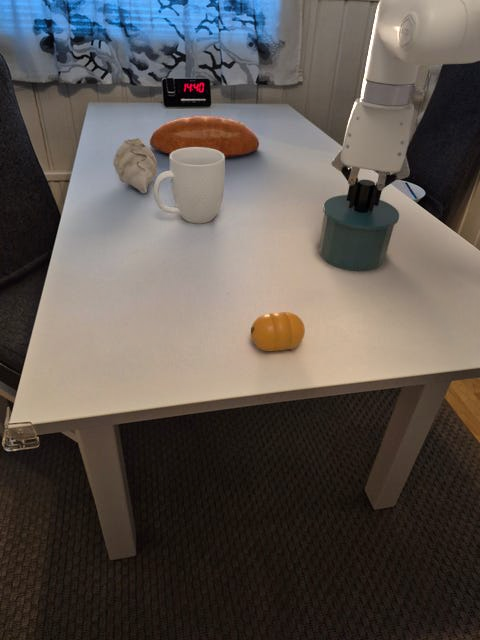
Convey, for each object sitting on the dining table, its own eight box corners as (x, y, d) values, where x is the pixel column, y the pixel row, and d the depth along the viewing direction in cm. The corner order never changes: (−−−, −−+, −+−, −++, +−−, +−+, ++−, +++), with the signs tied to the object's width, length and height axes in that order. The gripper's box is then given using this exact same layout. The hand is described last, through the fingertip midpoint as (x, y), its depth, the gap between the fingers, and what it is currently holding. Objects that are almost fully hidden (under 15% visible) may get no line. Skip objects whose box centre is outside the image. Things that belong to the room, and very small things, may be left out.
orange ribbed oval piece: (295, 331, 66) (300, 303, 63) (307, 354, 62) (312, 325, 59) (245, 336, 65) (247, 308, 62) (254, 361, 61) (256, 331, 58)
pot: (387, 245, 88) (398, 205, 83) (380, 277, 79) (392, 234, 74) (325, 234, 92) (332, 194, 86) (312, 262, 82) (319, 220, 77)
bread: (264, 162, 124) (266, 129, 119) (148, 162, 121) (145, 128, 115) (253, 138, 142) (255, 108, 136) (152, 137, 138) (149, 106, 133)
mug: (165, 236, 88) (160, 170, 80) (148, 213, 96) (142, 152, 88) (232, 223, 94) (234, 161, 86) (212, 203, 101) (211, 144, 93)
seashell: (164, 174, 114) (161, 134, 108) (152, 198, 102) (148, 154, 96) (124, 172, 114) (119, 132, 108) (108, 195, 103) (101, 151, 96)
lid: (400, 208, 84) (409, 175, 80) (394, 239, 74) (404, 203, 70) (329, 196, 87) (335, 164, 83) (315, 224, 77) (320, 189, 73)
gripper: (442, 95, 69) (409, 206, 80) (337, 83, 73) (320, 191, 84) (442, 105, 63) (407, 223, 75) (328, 92, 67) (312, 206, 79)
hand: (361, 205), depth 79 cm, fingers closed on lid, 2 cm apart
